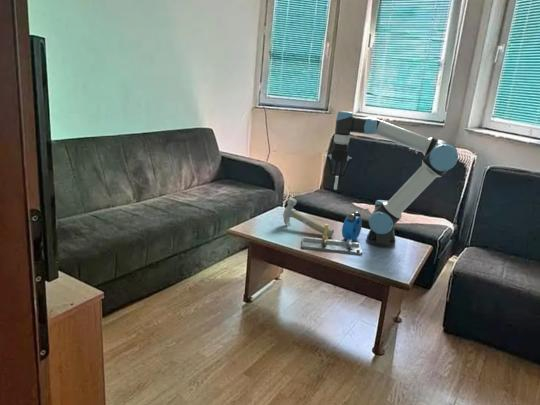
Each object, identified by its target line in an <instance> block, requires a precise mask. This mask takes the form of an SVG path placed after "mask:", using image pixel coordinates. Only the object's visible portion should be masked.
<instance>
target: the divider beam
mask: <svg viewBox="0 0 540 405" xmlns="http://www.w3.org/2000/svg"><path fill="white" fill-rule="evenodd" d="M304 241H311V242H320V243H322V241H323V239H322V238H319V237H309V236H304ZM327 243H329V244H338V245H347V246H349V248H350V249H351V246H356V247H359V245H360V242H354V241H353V240H352V239H346V241H345V240H336V239H329V238H328V240H327Z"/></svg>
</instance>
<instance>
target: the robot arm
mask: <svg viewBox="0 0 540 405" xmlns="http://www.w3.org/2000/svg"><path fill="white" fill-rule="evenodd" d="M351 133H357V134H364V135H376V136H379V137H381V138H384V139H386V140H388V141H390V142H391V141H392V142H395V143H397V144H400V145H401V146H405V147H407V148H409V149H412V150H414V151H417V152H420V153H422V154H423V156H424V158H423V159H422V160H421V166H419V167H418V169H417V170H416V171H415V172H414V173H413V174H412V176H410V177H409V178H408V180H407V181H406V182H404V184H403V185H402V186H401V187H400V188H399V189H398V190H397V191H396V192H395V193H394V194H393V195H392V197H391V198H390V199H388V200H386V199H385V200H383V199H377V200H375V204H374V210H373V212H372V213H371V214H370V216H369V218H368V226H369V228H370V230H369V232H368V233H367V235H366V239H365V241H366V242H367V243H368V244H370V245H372V246H374V247H378V248H384V249H385V248H393V247H395V246H396V242H397V241H396V236H395V227H396V224H397V223H398V222H399V221H400V220H401V219H402V213H403V212H404V211H405V210H406V209H407V208H408V207H409V206H410V205H411V204H412V203H413V202H414V201H415V200H416V199H417V198H418V197H419V196H420V194H422V193H423V192H424V191H425V190H426V189H427V187H429V186H430V184H432V183H433V182H434V180H435V179H437V178H442V177H443V176H444V175H445V174H446V173H447V172H448V171H449V170H451V169H453V168H454V167H455V166H456V165H457V162H458V159H459V153H458V150H457V147H456V146H455V145H454V144H453V143H452V142H450V141H446V140H443V139H438V138H437V137H436V138H435V137H433V136H431V137H427V136H425V135H422V134H418V133H416V132H414V131H411V130H407V129H405V128H402V127H400V126H398V125H395V124H392V123H390V122H386V121H384V120H380V119H378V118H376V117H374V116H373V115H366V116H364V117H361V116H354V114H353V112H352V111H348V110H347V111H346V110H340V111H338V112H337V115H336V120H335V130H334V136H333V146H332V151H331V153H330V154H328V155H326V159H327V161H328V168H329V174H330V176H332V183H334V184H333V190H335V191H336V190H338V185H339V184H340V183H341V177H345V175H346V173H347V171H348V168H349V165H350V163H351V162H352V161H353V158H352V157H350V156H349V153H348V152H349V146H350V145H349V143H350V138H351ZM332 159H333V161H334V167H332V166H333V165H332ZM345 161H346V163H345V166H344V167H343V164H344V162H345ZM338 162H339V168H338ZM337 169H338V175H337ZM342 170H343V171H342Z"/></svg>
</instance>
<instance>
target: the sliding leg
mask: <svg viewBox="0 0 540 405" xmlns="http://www.w3.org/2000/svg"><path fill="white" fill-rule="evenodd" d="M324 225H325V229H324V234H323V235H322V238H321V239H323V241H322V243H324V246H326V243H327V240H328V239H329V237H328V236H327V233H328V227H329V223H327V222H326V223H324Z"/></svg>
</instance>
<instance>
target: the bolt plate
mask: <svg viewBox="0 0 540 405" xmlns="http://www.w3.org/2000/svg"><path fill="white" fill-rule="evenodd" d="M301 239H302V240H301V249H305V250H314V251H323V252H331V253H340V254H341V253H342V254H350V255H358V256H363V250H362V246H361V244H359V247H356V246H351V249H350V248H349V246H347V245H338V244H329V243H326V246H324V243H320V242H311V241H304V238H301Z"/></svg>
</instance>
